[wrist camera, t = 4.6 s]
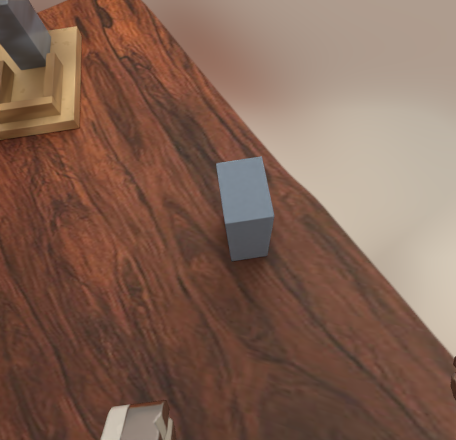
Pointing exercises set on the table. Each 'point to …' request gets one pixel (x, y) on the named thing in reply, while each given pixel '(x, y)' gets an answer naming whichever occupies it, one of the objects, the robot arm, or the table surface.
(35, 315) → the table surface
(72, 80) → the pad board
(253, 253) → the loose pad
